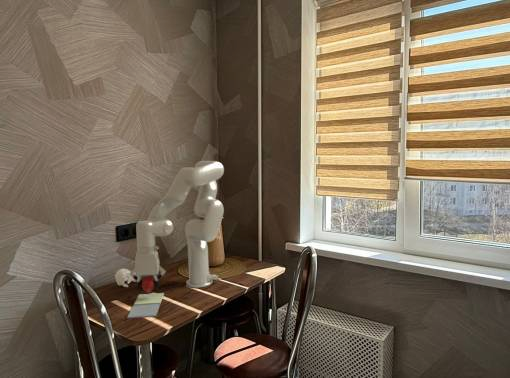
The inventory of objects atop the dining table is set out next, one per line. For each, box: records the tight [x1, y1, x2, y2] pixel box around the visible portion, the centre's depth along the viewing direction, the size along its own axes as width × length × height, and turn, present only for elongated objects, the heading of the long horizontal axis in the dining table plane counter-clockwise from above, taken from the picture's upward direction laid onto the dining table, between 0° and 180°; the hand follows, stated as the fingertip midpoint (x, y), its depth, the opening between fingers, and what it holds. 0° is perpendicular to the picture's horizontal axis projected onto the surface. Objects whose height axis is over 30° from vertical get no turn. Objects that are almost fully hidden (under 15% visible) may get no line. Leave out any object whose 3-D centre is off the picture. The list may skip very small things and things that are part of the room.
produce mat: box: [133, 292, 165, 306], centre depth 173 cm, size 11×11×1 cm
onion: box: [141, 275, 155, 294], centre depth 172 cm, size 6×6×8 cm
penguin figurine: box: [114, 268, 137, 288], centre depth 193 cm, size 6×8×12 cm
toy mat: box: [126, 304, 161, 319], centre depth 161 cm, size 11×11×1 cm
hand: (148, 289), depth 172 cm, fingers closed on onion, 5 cm apart
